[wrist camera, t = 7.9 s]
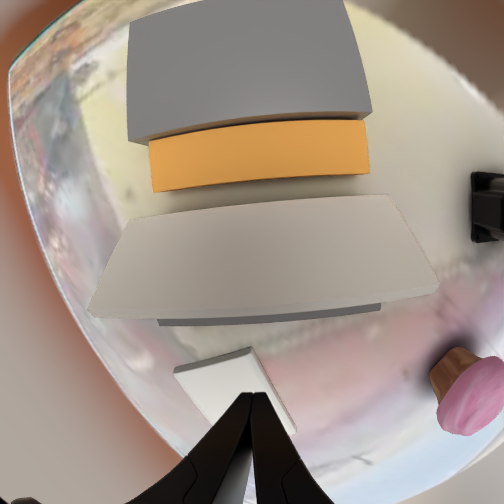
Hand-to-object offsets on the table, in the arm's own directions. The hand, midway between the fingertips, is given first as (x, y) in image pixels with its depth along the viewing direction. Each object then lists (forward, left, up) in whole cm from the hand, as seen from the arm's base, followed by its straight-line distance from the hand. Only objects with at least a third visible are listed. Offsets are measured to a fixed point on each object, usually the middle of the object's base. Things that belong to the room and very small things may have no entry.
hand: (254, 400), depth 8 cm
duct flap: (0, -4, -5) cm, 7 cm away
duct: (0, -9, -13) cm, 16 cm away
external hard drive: (+4, +14, -14) cm, 20 cm away
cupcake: (-20, +13, -13) cm, 27 cm away
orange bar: (-1, -11, -12) cm, 16 cm away
